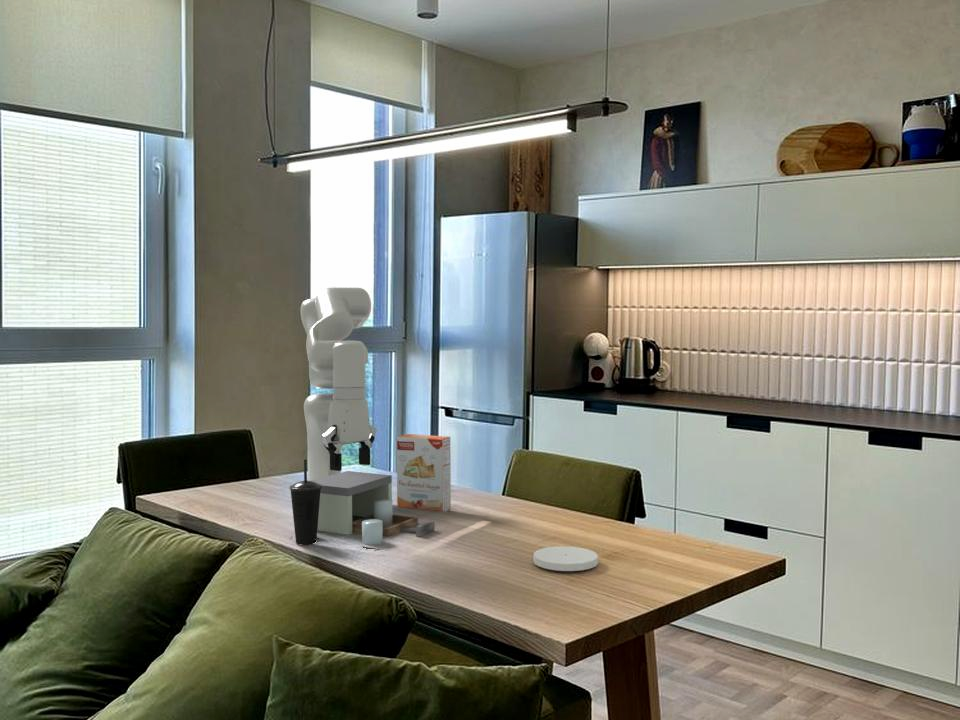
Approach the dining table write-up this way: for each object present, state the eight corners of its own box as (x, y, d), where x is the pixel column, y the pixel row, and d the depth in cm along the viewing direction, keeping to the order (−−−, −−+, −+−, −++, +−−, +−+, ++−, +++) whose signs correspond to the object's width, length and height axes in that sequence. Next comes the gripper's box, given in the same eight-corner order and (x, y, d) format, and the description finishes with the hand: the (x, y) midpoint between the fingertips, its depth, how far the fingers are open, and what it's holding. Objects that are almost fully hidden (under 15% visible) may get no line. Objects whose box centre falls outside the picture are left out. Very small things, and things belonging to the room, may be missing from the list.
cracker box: (396, 510, 249) (395, 435, 248) (406, 506, 254) (405, 433, 253) (442, 515, 243) (442, 438, 242) (451, 510, 249) (451, 435, 248)
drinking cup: (328, 539, 217) (327, 457, 216) (312, 547, 210) (311, 463, 209) (300, 537, 220) (299, 456, 219) (283, 545, 213) (282, 461, 212)
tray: (378, 522, 234) (378, 510, 234) (441, 530, 225) (441, 518, 225) (346, 534, 221) (346, 521, 221) (411, 543, 212) (411, 530, 212)
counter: (348, 517, 241) (347, 470, 241) (428, 527, 230) (427, 479, 229) (302, 532, 224) (302, 483, 224) (386, 544, 213) (386, 492, 212)
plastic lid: (550, 554, 206) (550, 543, 205) (607, 563, 198) (607, 551, 198) (522, 569, 193) (522, 558, 193) (581, 579, 186) (582, 567, 186)
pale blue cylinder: (369, 543, 214) (369, 518, 214) (386, 545, 212) (386, 520, 212) (358, 548, 210) (357, 522, 210) (375, 550, 208) (374, 524, 208)
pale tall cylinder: (380, 521, 232) (380, 498, 231) (396, 523, 229) (396, 500, 229) (369, 525, 227) (369, 501, 227) (385, 527, 225) (385, 503, 225)
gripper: (362, 391, 219) (363, 461, 220) (311, 396, 205) (312, 471, 206) (386, 392, 215) (386, 464, 216) (335, 398, 201) (335, 474, 202)
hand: (350, 467), depth 211 cm, fingers open, 9 cm apart
